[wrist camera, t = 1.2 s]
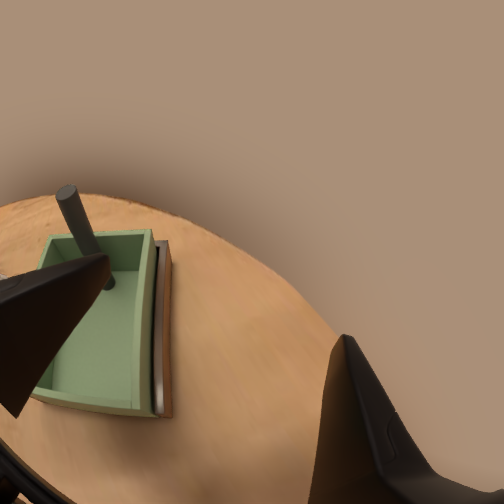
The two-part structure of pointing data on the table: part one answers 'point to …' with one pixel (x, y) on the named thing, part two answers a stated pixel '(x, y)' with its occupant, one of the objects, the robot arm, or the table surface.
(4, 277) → the french press
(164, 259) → the brown wooden tray
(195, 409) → the table surface
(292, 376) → the table surface
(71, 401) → the container
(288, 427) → the table surface
